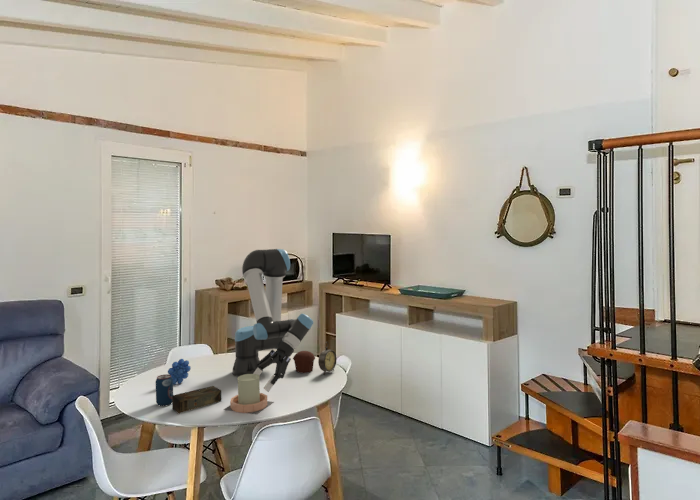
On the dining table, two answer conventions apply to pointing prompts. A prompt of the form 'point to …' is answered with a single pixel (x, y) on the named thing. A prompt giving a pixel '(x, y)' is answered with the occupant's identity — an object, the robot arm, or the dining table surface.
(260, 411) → the mat
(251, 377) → the can
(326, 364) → the alarm clock
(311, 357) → the muffin
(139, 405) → the dining table surface
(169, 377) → the soda can
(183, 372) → the grapes
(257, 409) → the bowl
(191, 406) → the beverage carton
